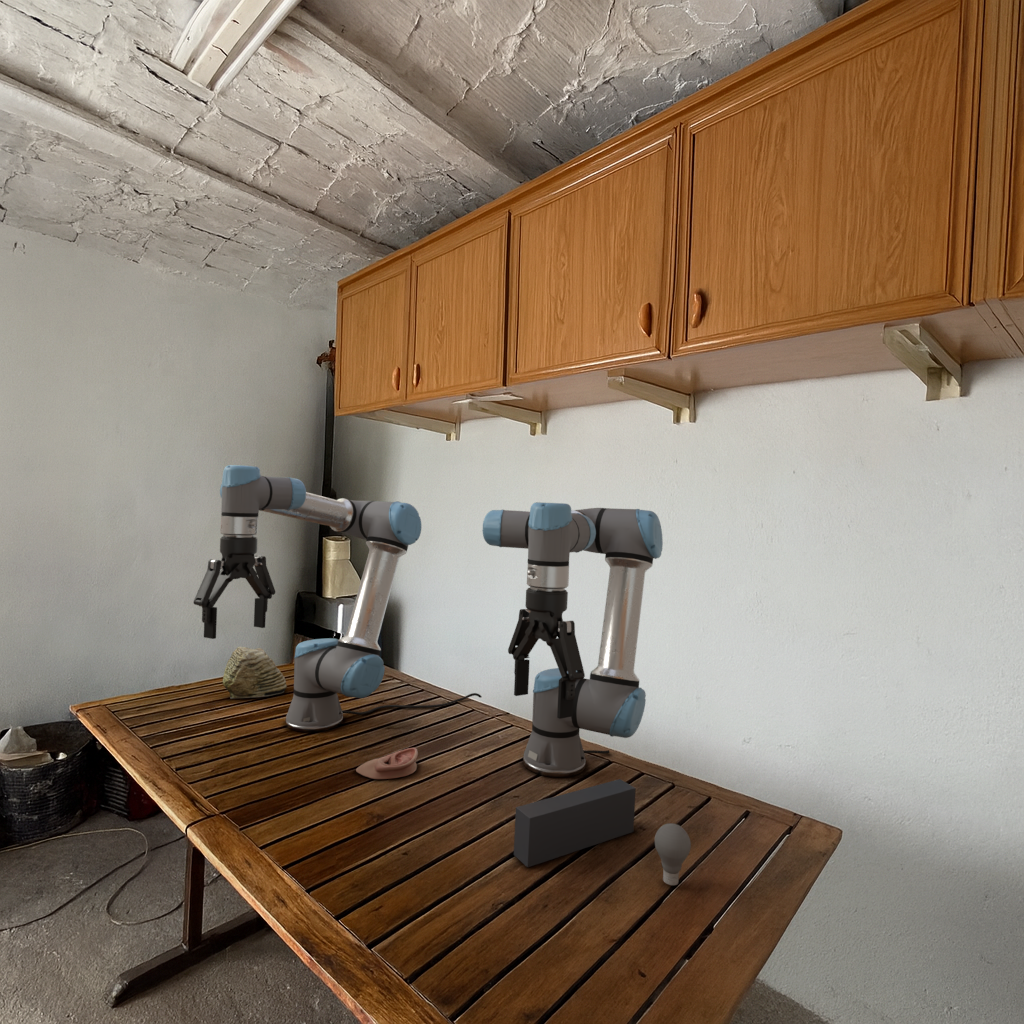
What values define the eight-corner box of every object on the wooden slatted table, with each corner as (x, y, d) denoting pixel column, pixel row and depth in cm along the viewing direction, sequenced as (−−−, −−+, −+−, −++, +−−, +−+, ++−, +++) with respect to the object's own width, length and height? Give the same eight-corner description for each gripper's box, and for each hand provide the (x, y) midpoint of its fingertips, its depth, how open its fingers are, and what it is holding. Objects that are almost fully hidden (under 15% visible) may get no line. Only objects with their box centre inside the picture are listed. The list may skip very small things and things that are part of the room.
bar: (617, 821, 129) (619, 778, 129) (633, 832, 125) (635, 787, 125) (513, 854, 115) (515, 807, 115) (527, 867, 111) (529, 818, 111)
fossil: (218, 695, 195) (220, 647, 195) (278, 685, 208) (279, 640, 207) (228, 703, 189) (230, 653, 188) (289, 692, 201) (290, 645, 201)
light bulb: (648, 873, 111) (650, 816, 111) (681, 872, 111) (684, 816, 111) (659, 894, 105) (661, 834, 105) (694, 894, 105) (697, 834, 105)
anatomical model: (350, 758, 144) (371, 740, 155) (349, 775, 144) (371, 756, 155) (405, 766, 141) (423, 746, 152) (405, 783, 141) (422, 763, 152)
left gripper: (203, 539, 126) (199, 645, 126) (293, 535, 149) (289, 624, 149) (176, 536, 129) (173, 640, 129) (269, 533, 152) (265, 621, 152)
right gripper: (493, 579, 122) (488, 688, 123) (573, 599, 101) (567, 731, 102) (525, 578, 126) (521, 684, 127) (609, 597, 105) (603, 724, 106)
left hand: (235, 632), depth 139 cm, fingers open, 13 cm apart
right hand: (541, 705), depth 114 cm, fingers open, 13 cm apart
